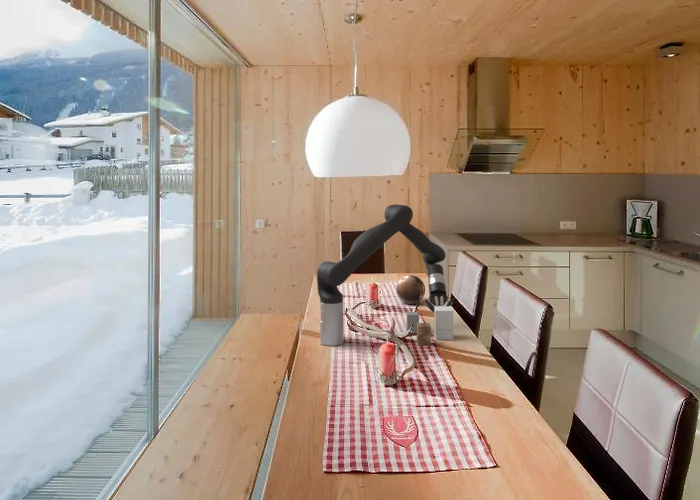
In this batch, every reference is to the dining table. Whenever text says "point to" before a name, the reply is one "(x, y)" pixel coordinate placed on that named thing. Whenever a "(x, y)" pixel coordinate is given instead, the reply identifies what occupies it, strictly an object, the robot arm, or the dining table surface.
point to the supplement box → (443, 322)
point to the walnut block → (423, 334)
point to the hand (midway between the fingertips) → (440, 319)
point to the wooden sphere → (410, 289)
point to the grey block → (412, 318)
